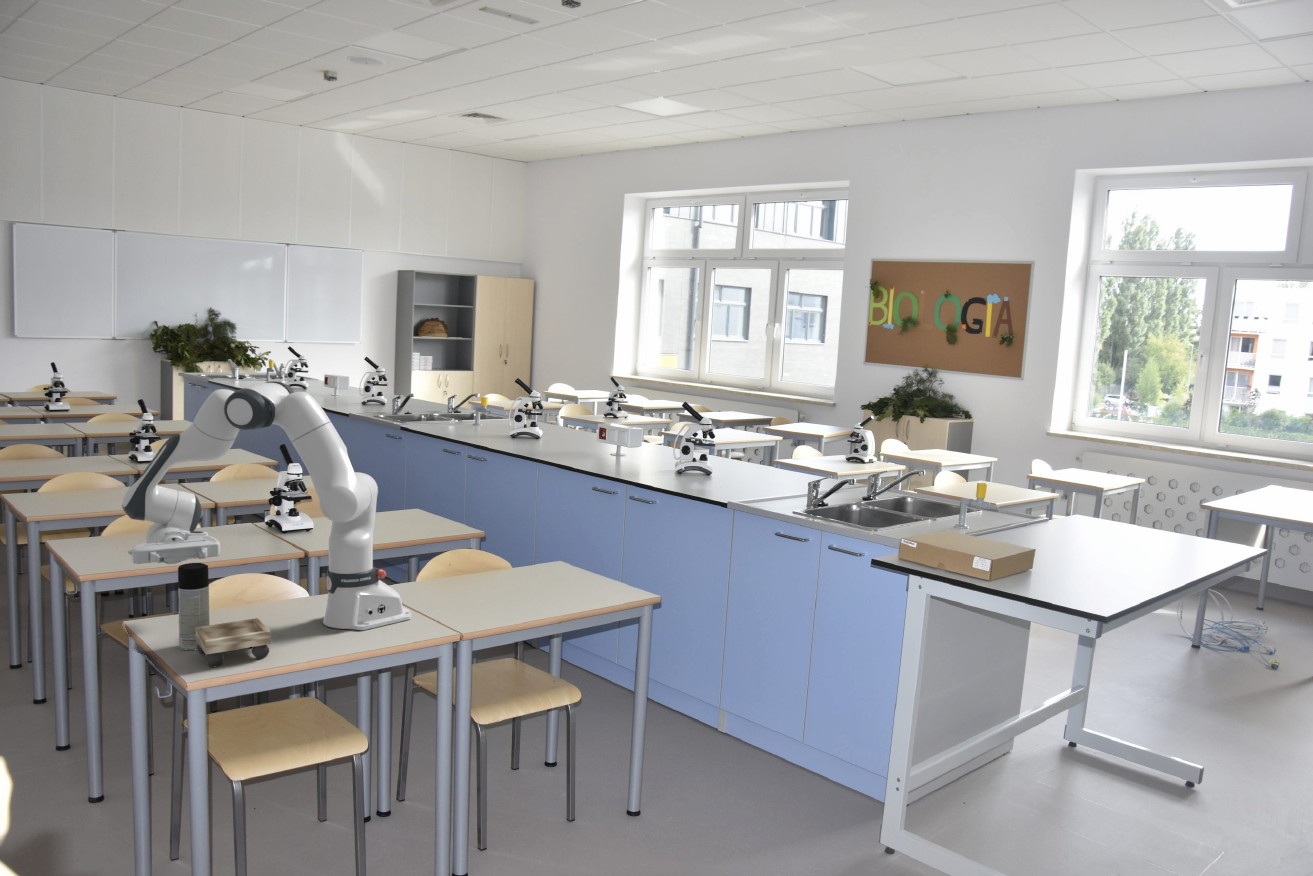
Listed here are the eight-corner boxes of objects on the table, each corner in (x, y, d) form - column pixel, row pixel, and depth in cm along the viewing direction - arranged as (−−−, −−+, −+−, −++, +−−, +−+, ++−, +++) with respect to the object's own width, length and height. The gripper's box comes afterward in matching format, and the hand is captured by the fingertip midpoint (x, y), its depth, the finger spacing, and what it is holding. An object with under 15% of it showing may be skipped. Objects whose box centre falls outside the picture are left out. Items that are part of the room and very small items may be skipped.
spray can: (202, 640, 234) (200, 560, 232) (215, 646, 230) (213, 565, 227) (174, 646, 229) (172, 565, 227) (187, 653, 225) (185, 570, 222)
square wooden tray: (258, 643, 232) (257, 618, 231) (271, 658, 223) (270, 631, 222) (195, 654, 224) (194, 627, 223) (206, 669, 214) (205, 641, 214)
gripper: (126, 538, 241) (134, 549, 230) (213, 531, 253) (225, 541, 242) (126, 562, 242) (135, 574, 231) (213, 554, 254) (225, 565, 243)
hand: (181, 557), depth 237 cm, fingers open, 8 cm apart
